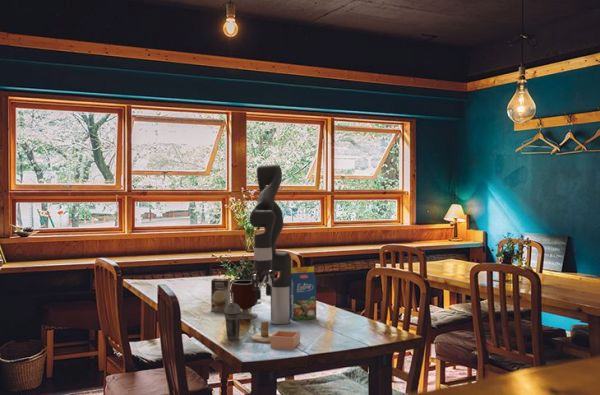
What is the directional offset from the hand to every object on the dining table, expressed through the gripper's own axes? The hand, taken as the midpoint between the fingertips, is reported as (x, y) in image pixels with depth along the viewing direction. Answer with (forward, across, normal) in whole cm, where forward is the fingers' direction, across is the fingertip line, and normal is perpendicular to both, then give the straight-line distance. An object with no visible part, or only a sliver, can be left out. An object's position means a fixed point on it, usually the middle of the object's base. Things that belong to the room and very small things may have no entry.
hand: (263, 297), depth 246 cm
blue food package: (+19, -46, -5) cm, 50 cm away
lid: (+18, -2, 0) cm, 18 cm away
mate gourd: (+19, -37, -32) cm, 52 cm away
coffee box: (+19, -44, -52) cm, 70 cm away
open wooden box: (+18, +3, +12) cm, 22 cm away
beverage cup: (+19, +4, -13) cm, 23 cm away
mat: (+18, -2, 0) cm, 18 cm away
